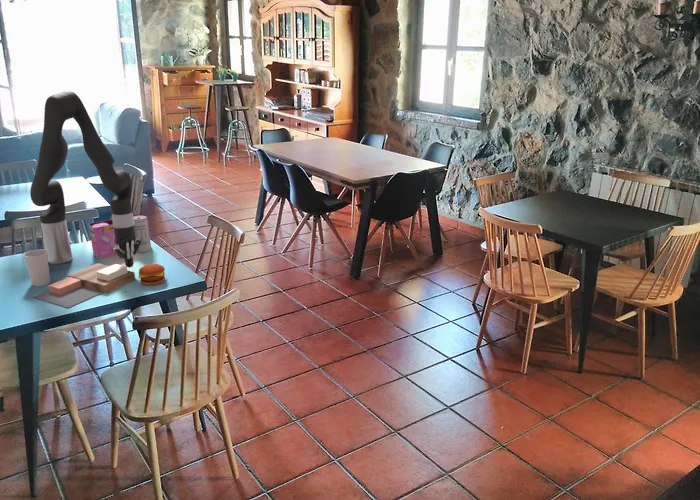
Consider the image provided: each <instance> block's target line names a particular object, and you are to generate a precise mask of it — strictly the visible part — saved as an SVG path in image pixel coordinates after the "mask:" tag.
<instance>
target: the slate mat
mask: <svg viewBox="0 0 700 500" xmlns="http://www.w3.org/2000/svg"><path fill="white" fill-rule="evenodd" d="M101 294H105V293H104V292H103V291H99V290H96V289H92V288H89V287H85V286H81V287H79V288H76V289H74V290H71V291H69V292H67V293H64V294H62V295H59V294H55V293H52V292H50V291H49V289H48V290H45V291H43V292H40V293H38V294H35V295H33V296H32V298H33V299H36V300H40V301H41V302H42V301H43V302H46V303H48V304H52V305H56V306H59V307H62V308H65V309H71V308H72V307H74V306H77V305H79V304H81V303H83V302H86V301H88V300H90V299H92V298H94V297H98V296H99V295H101Z"/></svg>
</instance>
